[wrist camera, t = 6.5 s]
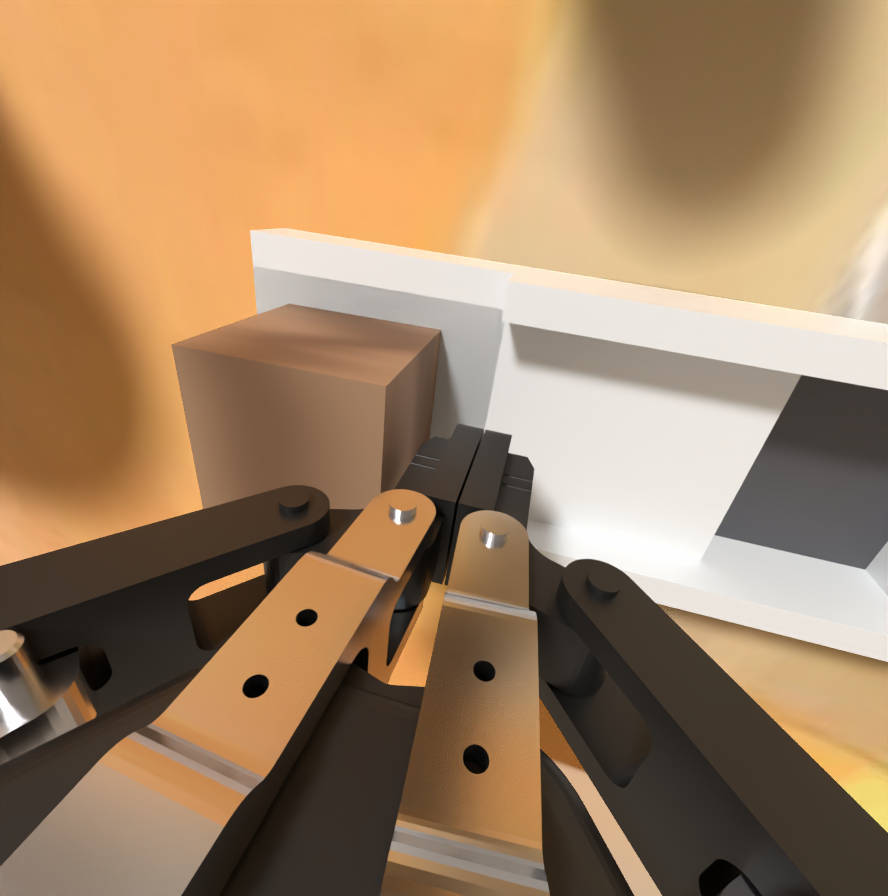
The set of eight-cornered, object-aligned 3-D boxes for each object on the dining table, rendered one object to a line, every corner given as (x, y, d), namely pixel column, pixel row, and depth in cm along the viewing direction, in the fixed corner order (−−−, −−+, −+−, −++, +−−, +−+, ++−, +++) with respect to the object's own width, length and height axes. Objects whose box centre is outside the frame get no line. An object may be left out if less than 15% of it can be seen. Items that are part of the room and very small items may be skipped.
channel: (1117, 360, 12) (1308, 412, 9) (904, 597, 16) (982, 686, 13) (285, 228, 15) (217, 232, 12) (296, 455, 20) (248, 500, 17)
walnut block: (441, 329, 14) (385, 386, 9) (426, 469, 16) (376, 564, 12) (289, 303, 14) (171, 344, 10) (297, 440, 17) (205, 521, 12)
